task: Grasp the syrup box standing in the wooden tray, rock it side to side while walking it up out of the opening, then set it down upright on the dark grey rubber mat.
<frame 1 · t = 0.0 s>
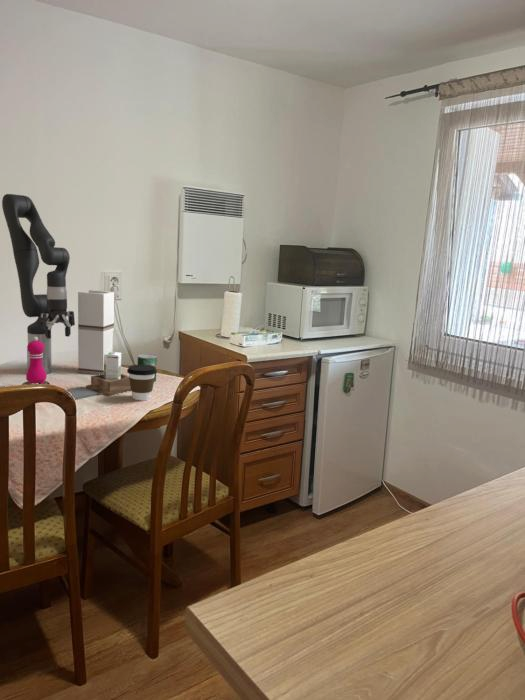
hand: (58, 337, 217), 17 cm above the table, tool pointing down, fingers open, 8 cm apart
pepper mill: (36, 388, 206), on the table
wooden tray: (112, 389, 210), on the table
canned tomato: (146, 381, 225), on the table
coffee cup: (141, 398, 201), on the table
syrup box: (112, 389, 210), resting in wooden tray
mat: (78, 393, 201), on the table
banded white pillar: (96, 371, 236), on the table
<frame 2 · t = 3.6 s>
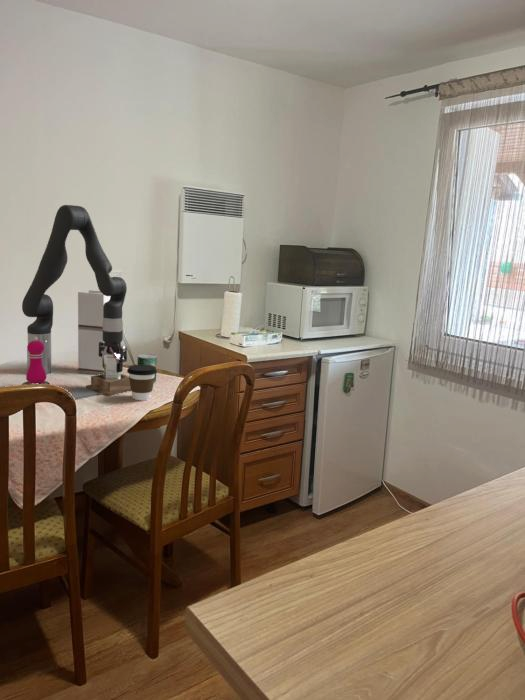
hand: (112, 370, 209), 8 cm above the table, tool pointing down, fingers closed on syrup box, 8 cm apart
syrup box: (112, 389, 210), resting in wooden tray, touching gripper
everything else where it was.
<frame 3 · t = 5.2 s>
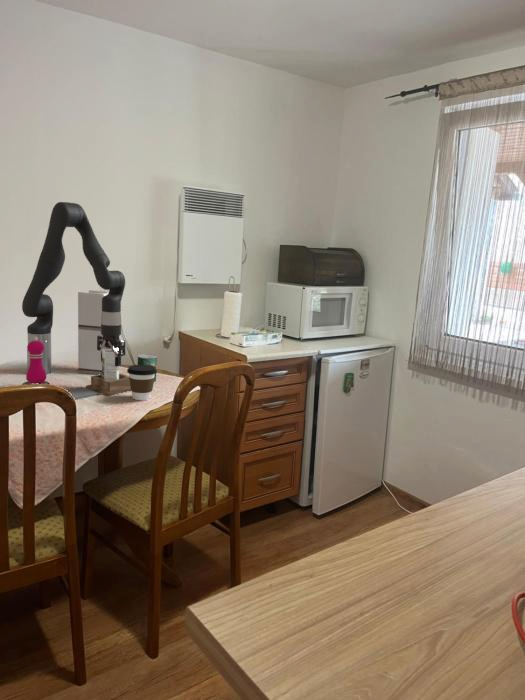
hand: (110, 364, 208), 10 cm above the table, tool pointing down, fingers closed on syrup box, 8 cm apart
syrup box: (110, 383, 210), point 2 cm above the table, touching gripper
everything else where it was.
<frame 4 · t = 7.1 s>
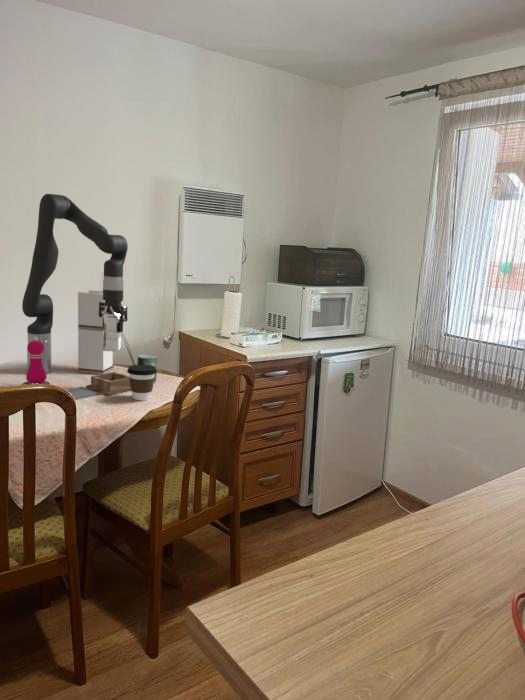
hand: (112, 330, 206), 23 cm above the table, tool pointing down, fingers closed on syrup box, 8 cm apart
syrup box: (112, 350, 207), point 15 cm above the table, touching gripper
everything else where it was.
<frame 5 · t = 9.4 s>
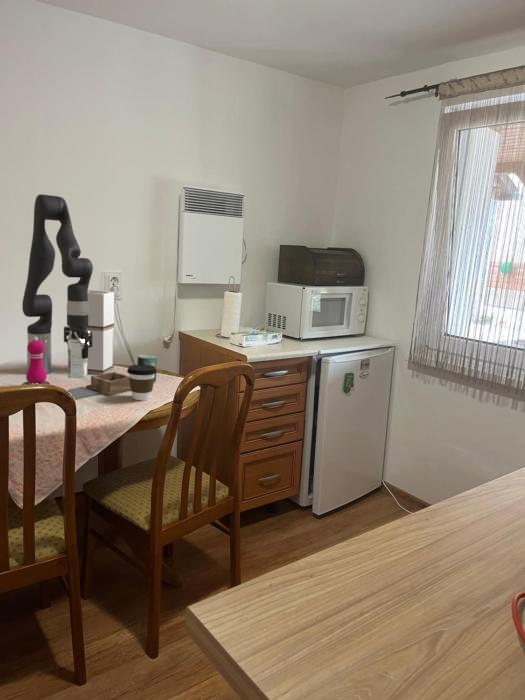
hand: (77, 356, 198), 15 cm above the table, tool pointing down, fingers closed on syrup box, 8 cm apart
syrup box: (78, 376, 200), point 7 cm above the table, touching gripper
everything else where it was.
when the fingers open (9 cm above the table, at t = 11.0 s): syrup box stays where it is, resting on mat.
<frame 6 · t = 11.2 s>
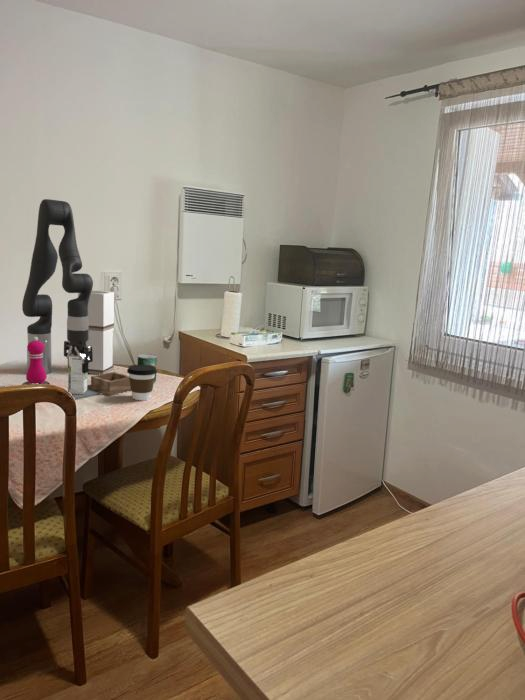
hand: (78, 370, 199), 9 cm above the table, tool pointing down, fingers open, 8 cm apart
syrup box: (78, 392, 201), resting on mat
everything else where it was.
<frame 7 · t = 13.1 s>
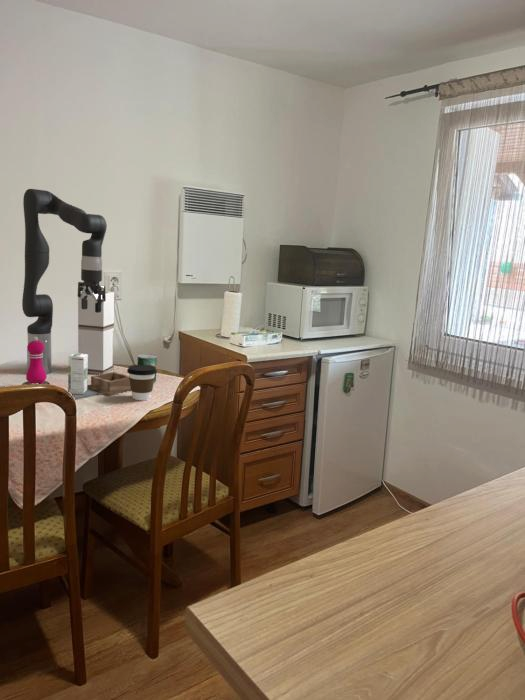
hand: (91, 310, 205), 31 cm above the table, tool pointing down, fingers open, 8 cm apart
nothing on the table moved.
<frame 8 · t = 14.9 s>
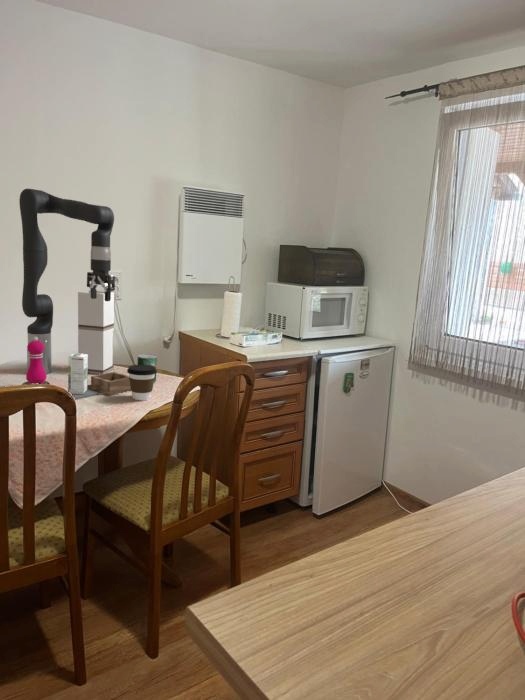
hand: (100, 299, 211), 34 cm above the table, tool pointing down, fingers open, 8 cm apart
nothing on the table moved.
at the end: syrup box 0.2 cm from the mat (horizontally); syrup box tilted 0°; the gripper is holding nothing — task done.
